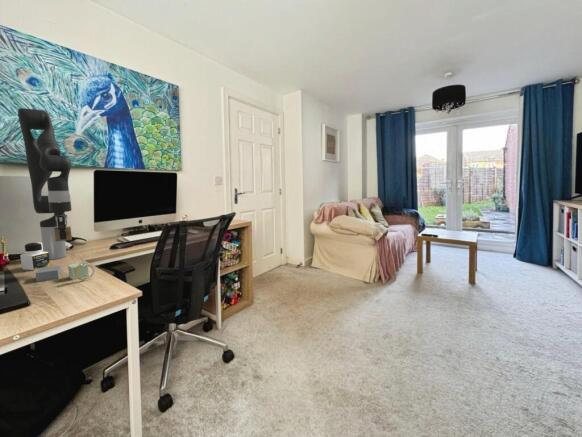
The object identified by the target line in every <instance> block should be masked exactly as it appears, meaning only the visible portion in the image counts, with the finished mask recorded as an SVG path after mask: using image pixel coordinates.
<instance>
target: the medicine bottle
mask: <svg viewBox="0 0 582 437" xmlns="http://www.w3.org/2000/svg"><path fill="white" fill-rule="evenodd" d="M24 252H25V253H22V254H20V263H21V269H22V270H24V271H25V270H26V271H38V269H39V268H47V267H51V266H50V265H51V262H50V260H49V253H48V252H43V245H42V242H39V241H38V242H28V243H26V244H25V245H24Z"/></svg>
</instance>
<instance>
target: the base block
mask: <svg viewBox="0 0 582 437" xmlns="http://www.w3.org/2000/svg"><path fill="white" fill-rule="evenodd" d="M34 273H35V281H36V283H37V282H46V281H52V280H59V279H60V277H61V275H62V268H61V265H55V266H48V267H45V268H39V269H38V270H36V271H35V272H34Z"/></svg>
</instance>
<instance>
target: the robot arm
mask: <svg viewBox="0 0 582 437" xmlns="http://www.w3.org/2000/svg"><path fill="white" fill-rule="evenodd" d="M17 117H18V121H19V126H20V130H21V134H22V138H23V143H24V148H25V149H24V150H25V156H26V164H27V169H28V173H29V178H30V182H31V183H30V185H31V193H32V204H33V208H34V211H35V213H36V214H53V215H52V216H51V217H49V218H47V219H46V218H45V219H44V220H41V221H39V228H40V235H41V243H42V245H43V251H42V252H48V253H49V261H51V260H58V259H63V258H65V257H67V248H66V247H67V246H66V241H55V232H54V229H55V227H58V231H59V233H60V239H61V240H62V239H66V238H67V237H66V227H68V215H67V214H66V213H67V212H71V211H72V202H71V200H72V199H71V194H70V191H69V188H70V187H69V177H70V172H71V168H72V161H71V159H70V157H68V156H67V155H62V154H61V153H62V151H61V149H60V146H59V144H58V142H57V138H56V136H55V129H54V126H53V122H52V118H51V116H50V114H49V113H48V111H46V110H42V109H34V108H26V107H25V108H23V107H21V108H19V109H18V111H17ZM32 130H33V131H35V130H37V131H42V132H41V133H40V134H39V135H38V137H37V139H36V138H35V137H34V135H33V133H32ZM53 172H54V173H55V172H59V173H60V174H59V175H57V176H52V174H53ZM45 184H47V195H42V192H43V191H42V190H43V188H44V186H45ZM60 227H61V228H60Z"/></svg>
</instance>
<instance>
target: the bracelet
mask: <svg viewBox="0 0 582 437" xmlns="http://www.w3.org/2000/svg"><path fill="white" fill-rule="evenodd" d="M82 262H83V263H82ZM79 263H80V264H78V265H77V266H76V268H75V270H74V276H75V277H76V278H77V279H76V280H78V281H85V282H86V281H88V280H90V279H91V278H93V277H94V275H95V272H96V269H95V266H94V264H91V263H89V262H88V261H86V262H85V261H81V262H79ZM85 265H87V266H88V267H90V268H91V269H92V272H91V275H89V277H85V278H79V277H77V275H76V273H77V271H78V270H79V269H80V268H81V267H83V266H85Z"/></svg>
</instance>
